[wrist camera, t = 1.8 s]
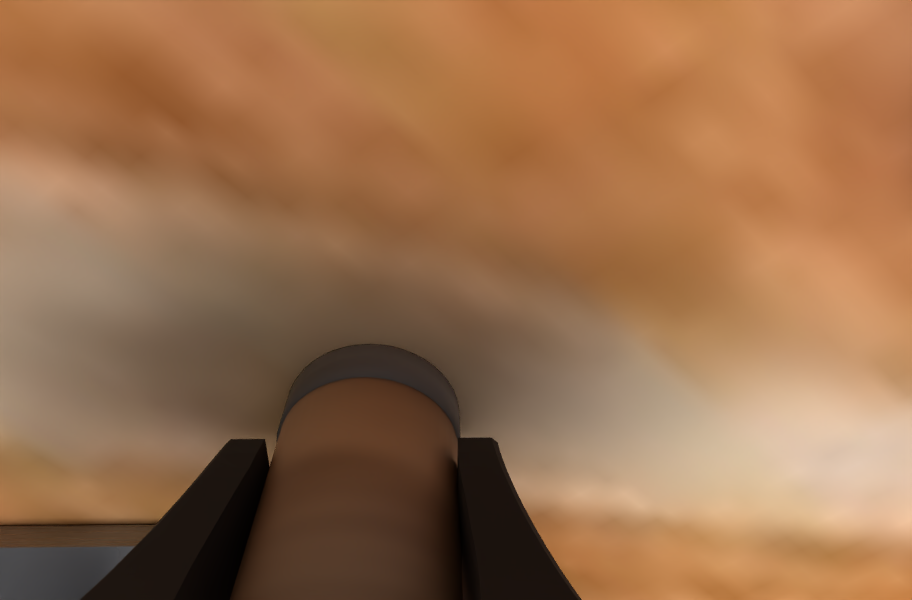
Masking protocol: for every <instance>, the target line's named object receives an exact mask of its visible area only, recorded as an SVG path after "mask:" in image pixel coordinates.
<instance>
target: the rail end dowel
mask: <svg viewBox="0 0 912 600" xmlns="http://www.w3.org/2000/svg"><path fill="white" fill-rule="evenodd" d="M458 438H460V417H459V406H458V402H457V398H456V395H455V393H454V390H453V388H452V387H451V385H450V384H449V382H448V380H447V379H446V378H445V377H444V376H443V374H442V373H441V372H440V371H439V370H438V369H436V368H435V367H434V366H433V365H432V364H430V363H429V362H427V361H426V360H425V359H423V358H421V357H419V356H417V355H415V354H413V353H410V352H408V351H406V350H403V349H399V348H395V347H391V346H385V345H373V344H365V345H354V346H348V347H344V348H340V349H337V350H334V351H331V352H329V353H327V354H325V355H323V356H321V357H319V358H318V359H316V360H314V361H313V362H312V363H311V364H309V365H308V366H307V367H306V368H305V369H304V370H303V371H302V372H301V373H300V374H299V376H298V377H297V379H296V380H295V381H294V383H293V385H292V388H291V390H290V392H289V396H288V399H287V402H286V405H285V409H284V412H283V415H282V418H281V422H280V425H279V429H278V432H277V444H276V448H275V451H274V454H273V458H272V461H271V464H270V468H269V471H268V474H267V478H266V481H265V484H264V488H263V491H262V494H261V497H260V501H259V504H258V507H257V511H256V514H255V517H254V521H253V524H252V527H251V531H250V534H249V537H248V541H247V544H246V547H245V550H244V554H243V557H242V560H241V564H240V567H239V570H238V574H237V577H236V580H235V584H234V587H233V590H232V594H231V597H230V600H463V586H462V555H461V531H460V518H459V505H458V472H457V456H458Z"/></svg>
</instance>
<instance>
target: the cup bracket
mask: <svg viewBox="0 0 912 600" xmlns="http://www.w3.org/2000/svg"><path fill="white" fill-rule="evenodd" d="M154 526H155V525H80V526H0V600H79V599H81V598H82V597H83V596H84V595H85V594H86V593H87V592H88V591H90V590H91V589H92V588H93V587H94V586H95V585H96V584H97V583H98V582H99V581H100V580H101V579H102V578H104V577H105V576H106V575H107V574H108V573H109V572H110V571H111V570H112V569H113V568H114V567H115V566H116V565H117V564H118V563H119V562H120V561H121V560H122V559H123V558H124V557H125V556H126V555H127V554H128V553H129V552H130V551H131V550H132V549H133V548H134V547H135V546H136V545H137V544H138V543H139V542H140V541H141V540H142V539H143V538H144V537H145V536H146V535H147V534H148V533H149V532H150V530H151V529H152V528H153V527H154Z"/></svg>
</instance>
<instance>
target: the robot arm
mask: <svg viewBox="0 0 912 600" xmlns="http://www.w3.org/2000/svg"><path fill="white" fill-rule="evenodd" d="M269 468H270V467H269V461H268V455H267V448H266V442H265V439H231V440H230V441H229V442H228V443H226V444H225V445H224V447H223V448H222V449H221V450H220V451H219V453H218V454H217V455H216V456H215V457H214V459H213V460H212V461H211V462H210V463H209V465H208V466H207V467H206V468H205V469H204V471H203V472H202V473H201V474H200V475H199V477H198V478H197V479H196V480H195V481H194V482H193V484H192V485H191V486H190V487H189V488H188V489H187V491H186V492H185V493H184V494H183V495H182V496H181V497H180V499H179V500H178V501H177V502H176V503H175V504H174V505H173V506H172V507H171V508H170V510H169V511H168V512H167V513H166V514H165V515H164V516H163V517H162V518H161V520H160V521H159V522H158V523H157V524H156V525H155V526H154V527H153V528H152V529H151V530H150V532H149V533H148V534H147V535H146V536H145V537H144V538H143V539H142V540H141V541H140V542H139V543H138V544H137V545H136V546H135V547H134V548H133V549H132V550H131V551H130V552H129V553H128V554H127V555H126V556H125V557H124V558H123V559H122V560H121V561H120V562H119V563H118V564H117V565H116V566H115V567H114V568H113V569H112V570H111V571H110V572H109V573H108V574H107V575H106V576H105V577H104V578H102V579H101V580H100V581H99V582H98V583H97V584H96V585H95V586H94V587H93V588H92V589H91V590H90V591H88V592H87V593H86V594H85V595H84V596H83V597H82V598H81V599H79V600H230V597H231V594H232V590H233V587H234V584H235V580H236V577H237V574H238V570H239V567H240V564H241V560H242V557H243V554H244V550H245V547H246V544H247V541H248V537H249V534H250V531H251V527H252V524H253V521H254V517H255V514H256V511H257V507H258V504H259V501H260V497H261V494H262V491H263V488H264V484H265V481H266V478H267V474H268V471H269ZM457 472H458V505H459V518H460V531H461V555H462V586H463V600H582V599H581V598H580V597H579V595H578V594H577V593H576V591H575V590H574V588H573V587H572V586H571V584H570V583H569V581H568V580H567V578H566V577H565V575H564V574H563V572H562V571H561V569H560V568H559V566H558V565H557V563H556V561H555V560H554V558H553V557H552V555H551V553H550V552H549V550H548V549H547V547H546V545H545V544H544V542H543V540H542V539H541V537H540V535H539V533H538V532H537V530H536V528H535V526H534V524H533V523H532V521H531V519H530V517H529V515H528V513H527V511H526V510H525V508H524V506H523V504H522V502H521V500H520V498H519V496H518V494H517V492H516V490H515V487H514V485H513V483H512V481H511V479H510V476H509V474H508V472H507V469H506V467H505V464H504V462H503V459H502V456H501V453H500V450H499V446H498V443H497V442H496V441H495V440H494V439H493V438H458V456H457Z"/></svg>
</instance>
